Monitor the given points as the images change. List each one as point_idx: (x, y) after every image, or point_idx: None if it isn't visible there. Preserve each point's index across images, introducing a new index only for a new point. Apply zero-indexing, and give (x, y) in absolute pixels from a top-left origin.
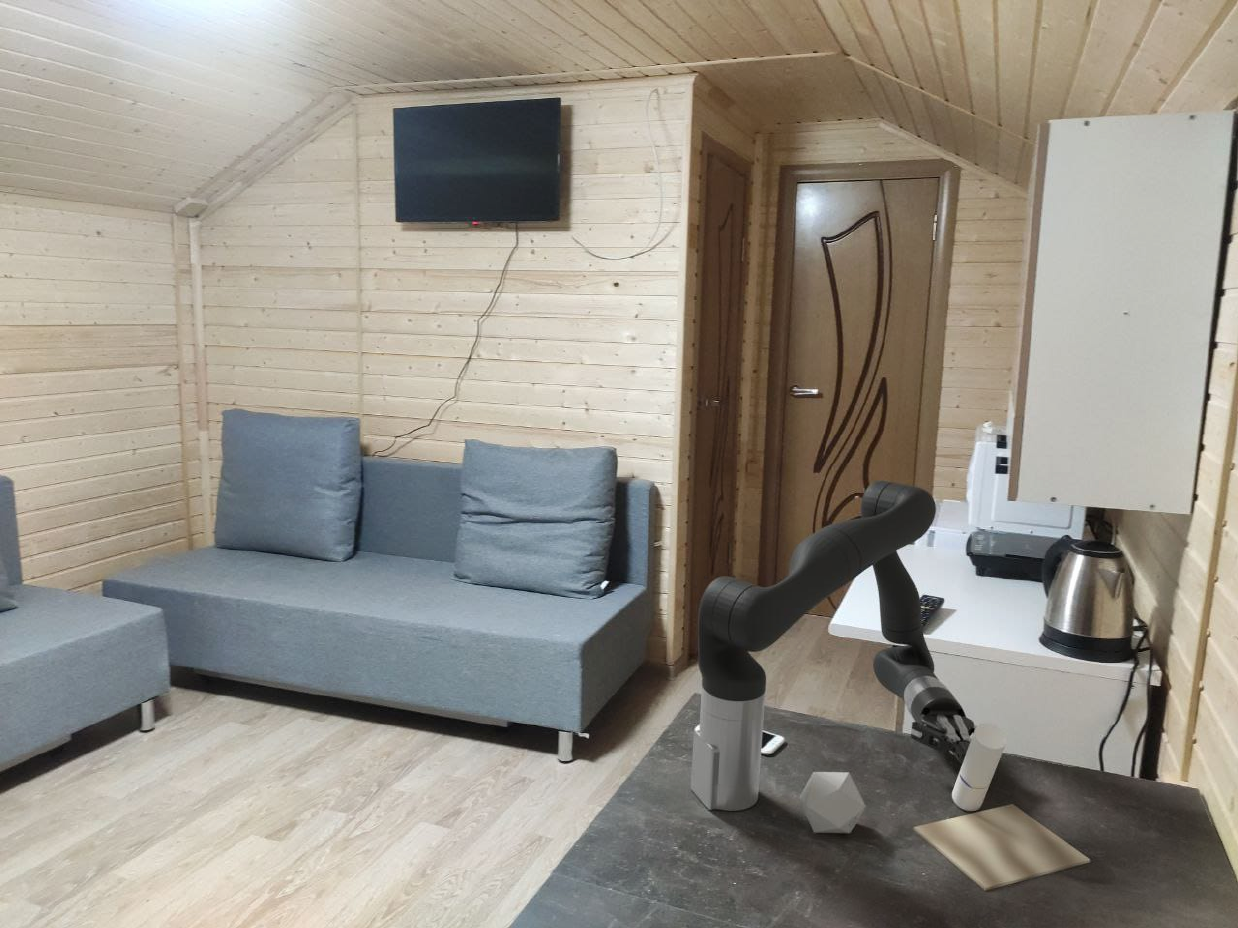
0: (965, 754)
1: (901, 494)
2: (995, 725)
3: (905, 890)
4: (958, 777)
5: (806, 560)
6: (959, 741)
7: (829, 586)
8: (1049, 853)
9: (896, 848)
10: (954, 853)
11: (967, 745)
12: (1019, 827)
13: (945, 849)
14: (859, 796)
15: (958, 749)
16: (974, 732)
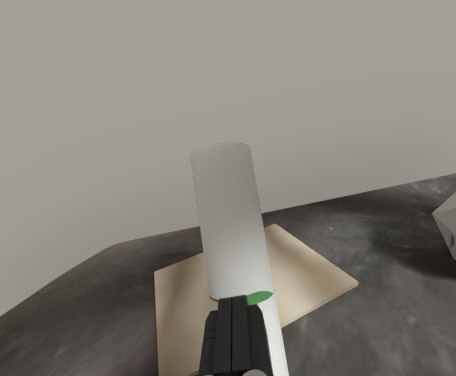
0: (247, 305)
1: None
2: (198, 149)
3: (344, 212)
4: (276, 305)
5: None
6: (245, 370)
7: None
8: (190, 271)
9: (370, 249)
10: (298, 249)
11: (226, 339)
12: (194, 312)
13: (308, 252)
14: (451, 206)
15: (261, 330)
16: (248, 147)
